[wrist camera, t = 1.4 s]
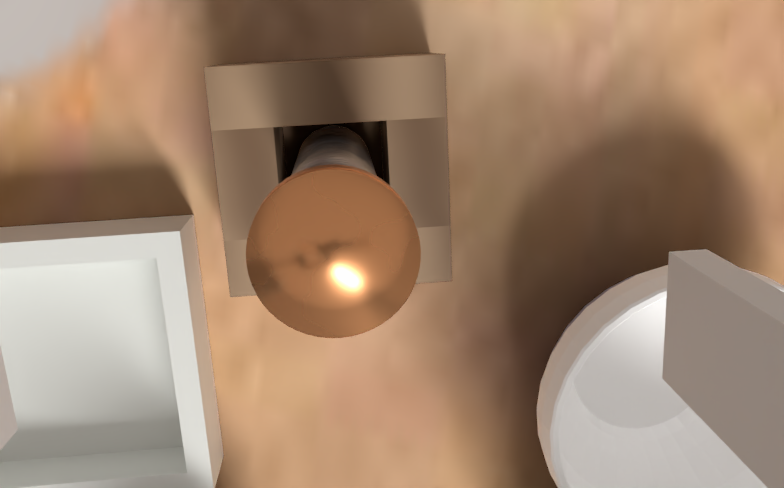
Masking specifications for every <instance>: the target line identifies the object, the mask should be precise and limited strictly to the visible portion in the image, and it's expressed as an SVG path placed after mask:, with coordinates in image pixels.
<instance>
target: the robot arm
mask: <svg viewBox="0 0 784 488" xmlns="http://www.w3.org/2000/svg"><path fill="white" fill-rule="evenodd" d="M662 379H663V380H664V381H665V382H666V383H667V384H668V385H669V386H670V387H671V388H672V389H673V390H674V391H675V392H676V393H677V394H678V395H679V396H680V397H681V398H682V400H683V401H684V402H685V403H686V404H687V405H688V406H689V407H690V408H691V409H692V410H693V411H694V412H695V413H696V414H697V415H698V416H699V417H700V418H701V419H702V420H703V421H704V422H705V423H706V424H707V425H708V426H709V427H710V429H711V430H712V431H713V432H714V433H715V434H716V435H717V436H718V437H719V438H720V439H721V440H722V441H723V442H724V443H725V444H726V445H727V446H728V447H729V448H730V449H731V450H732V451H733V452H734V453H735V454H736V455H737V456H738V457H739V459H740V460H741V461H742V462H743V463H744V464H745V465H746V466H747V467H748V468H749V469H750V470H751V471H752V472H753V473H754V474H755V475H756V476H757V477H758V478H759V479H760V480H761V481H762V482H763V483H764V484H765V485H766V486H767V488H784V292H782V291H781V290H779V289H777V288H775V287H773V286H772V285H770V284H768V283H766V282H764V281H763V280H761V279H759V278H757V277H755V276H754V275H752V274H750V273H748V272H747V271H745V270H743V269H741V268H739V267H738V266H736V265H734V264H732V263H730V262H729V261H727V260H725V259H723V258H721V257H720V256H718V255H716V254H714V253H713V252H711V251H709V250H707V249H701V250H686V251H672V252H669V260H668V279H667V298H666V317H665V335H664V354H663V373H662ZM17 430H18V427H17V422H16V417H15V413H14V408H13V403H12V398H11V394H10V389H9V384H8V379H7V374H6V370H5V365H4V360H3V355H2V351H1V346H0V450H1V449H2V448H3V447H4V446H5V444H6V443H7V442H8V441H9V440H10V438H11V437H12V436H13V435H14V434H15V432H16V431H17Z"/></svg>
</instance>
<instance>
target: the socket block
mask: <svg viewBox="0 0 784 488" xmlns="http://www.w3.org/2000/svg"><path fill="white" fill-rule="evenodd" d="M204 75H205V84H206V92H207V101H208V109H209V118H210V127H211V135H212V144H213V153H214V161H215V170H216V178H217V187H218V196H219V204H220V213H221V221H222V230H223V239H224V247H225V256H226V265H227V273H228V282H229V290H230V297H240V296H253V295H257V294H256V293H255V290H254V288H253V286H252V284H251V281H250V278H249V275H248V270H247V265H246V244H247V238H248V234H249V230H250V227H251V225H252V222H253V220H254V217H255V215H256V213H257V211H258V209H259V207H260V206H261V204H262V202H263V201H264V199H265V198H266V197H267V195H268V194H269V193H270V192H271V191H272V190H273V189H274V188H275V187H276V186H277V185H278V184H279V183H281V182H282V181H283V180H285V179H286V178H287V172H286V161H285V150H284V139H283V128H282V127H285V126H302V125H319V124H336V123H352V122H369V121H380V128H381V146H382V164H383V181H385V182H386V183H387V184H389V185H390V186H391V187H392V188H393V189H394V190H395V191H396V192H397V193H398V194H399V196H400V197H401V198H402V200H403V201H404V203H405V204H406V206H407V208H408V210H409V211H410V214H411V216H412V218H413V220H414V223H415V225H416V228H417V231H418V235H419V239H420V247H421V262H420V268H419V273H418V277H417V280H416V283H415V284H418V283H432V282H446V281H452V261H451V228H450V196H449V163H448V130H447V98H446V65H445V54H436V53H422V54H404V55H385V56H366V57H348V58H329V59H311V60H292V61H273V62H255V63H236V64H220V65H214V66H208V67H204Z"/></svg>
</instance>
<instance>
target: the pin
mask: <svg viewBox="0 0 784 488" xmlns="http://www.w3.org/2000/svg"><path fill="white" fill-rule="evenodd" d="M420 262H421V247H420V239H419V235H418V231H417V228H416V225H415V223H414V220H413V218H412V216H411V214H410V211H409V210H408V208H407V206H406V204H405V203H404V201H403V200H402V198H401V197H400V196H399V194H398V193H397V192H396V191H395V190H394V189H393V188H392V187H391V186H390V185H389V184H387V183H386V182H385V181H383V180H382V179H381V178H379V177H377V175H376V172H375V169H374V166H373V163H372V160H371V157H370V154H369V151H368V148H367V146H366V144H365V142H364V141H363V140H362V138H361V137H360V136H359V135H358V134H356V133H355V132H354V131H352V130H350V129H348V128H345V127H342V126H326V127H322V128H320V129H317V130H316V131H314V132H313V133H311V134H310V135H309V136H308V137H307V138H306V139H305V141H304V142H303V144H302V146H301V148H300V150H299V153H298V157H297V160H296V163H295V166H294V169H293V172H292V175H291V176H289V177H288V178H286V179H285V180H283V181H282V182H281V183H279V184H278V185H277V186H276V187H275V188H274V189H273V190H272V191H271V192H270V193H269V194H268V195H267V197H266V198H265V199H264V201H263V202H262V204H261V206H260V207H259V209H258V211H257V213H256V215H255V217H254V220H253V222H252V225H251V227H250V230H249V234H248V238H247V244H246V265H247V270H248V275H249V278H250V281H251V284H252V286H253V288H254V290H255V293H256V294H257V296H258V298H259V299H260V301H261V302H262V304H263V305H264V306H265V307H266V308H267V309H268V311H269V312H270V313H272V314H273V315H274V316H275V317H276V318H277V319H278V320H280V321H281V322H283V323H284V324H286V325H287V326H289V327H291V328H293V329H295V330H297V331H300V332H302V333H305V334H308V335H313V336H317V337H325V338H342V337H349V336H354V335H358V334H362V333H364V332H367V331H369V330H372V329H374V328H375V327H377V326H379V325H381V324H382V323H384V322H385V321H387V320H388V319H389V318H391V317H392V316H393V315H394V314H395V313H396V312H397V311H398V310H399V309H400V308H401V306H402V305H403V304H404V303H405V302H406V300H407V298H408V297H409V295H410V294H411V292H412V290H413V287H414V285H415V283H416V280H417V277H418V273H419V268H420Z"/></svg>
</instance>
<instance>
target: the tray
mask: <svg viewBox="0 0 784 488" xmlns="http://www.w3.org/2000/svg"><path fill="white" fill-rule="evenodd" d="M0 346H1V351H2V355H3V360H4V365H5V370H6V374H7V379H8V384H9V389H10V394H11V398H12V403H13V408H14V413H15V417H16V422H17V427H18V430H17V431H16V432H15V434H14V435H13V436H12V437H11V438H10V440H9V441H8V442H7V443H6V444H5V446H4V447H3V448H2V449H1V450H0V488H215V486H216V483H217V479H218V475H219V471H220V468H221V464H222V460H223V457H224V453H223V445H222V437H221V429H220V421H219V413H218V405H217V397H216V389H215V382H214V374H213V366H212V358H211V350H210V342H209V334H208V326H207V318H206V310H205V302H204V294H203V286H202V278H201V271H200V263H199V255H198V247H197V239H196V231H195V223H194V215H179V216H164V217H149V218H134V219H119V220H103V221H88V222H73V223H58V224H43V225H27V226H12V227H0Z"/></svg>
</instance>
